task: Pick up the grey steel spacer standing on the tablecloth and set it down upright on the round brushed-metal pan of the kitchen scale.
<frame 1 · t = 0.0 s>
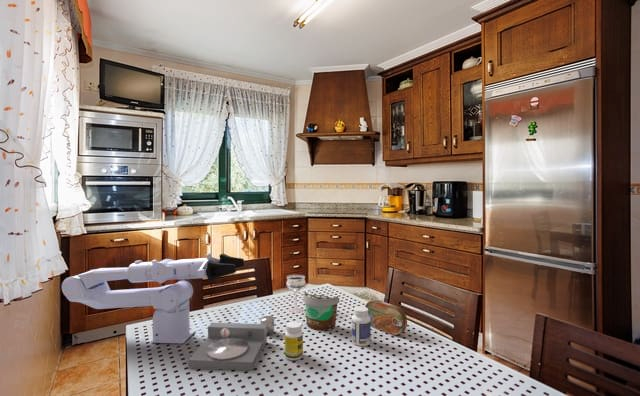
hand: (239, 265, 94), 22 cm above the table, tool horizontal, fingers open, 7 cm apart
food container: (317, 328, 104), on the table
supplement bottle: (293, 356, 86), on the table
scale: (230, 353, 87), on the table
steel spacer: (267, 333, 100), on the table
tin: (385, 330, 102), on the table
wineglass: (295, 310, 118), on the table
pill bottle: (360, 342, 94), on the table
pan: (227, 348, 85), point 2 cm above the table, slide at -0.4 cm, touching scale
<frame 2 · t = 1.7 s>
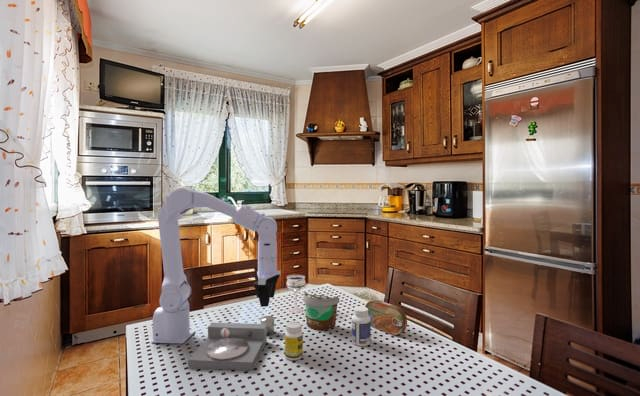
hand: (267, 301, 99), 10 cm above the table, tool pointing down, fingers open, 7 cm apart
nothing on the table moved.
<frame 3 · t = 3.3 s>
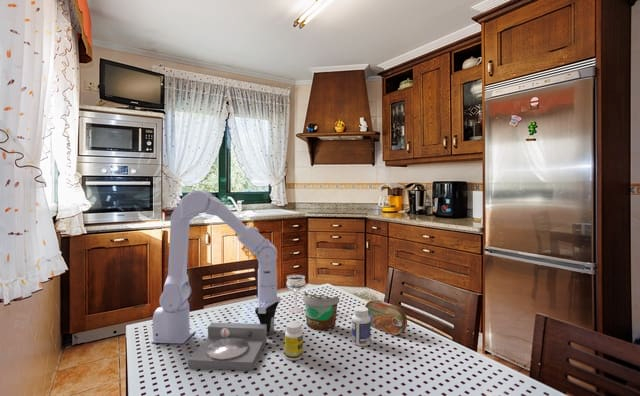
hand: (267, 328, 100), 1 cm above the table, tool pointing down, fingers closed on steel spacer, 4 cm apart
steel spacer: (267, 332, 100), on the table, touching gripper
everything else where it was.
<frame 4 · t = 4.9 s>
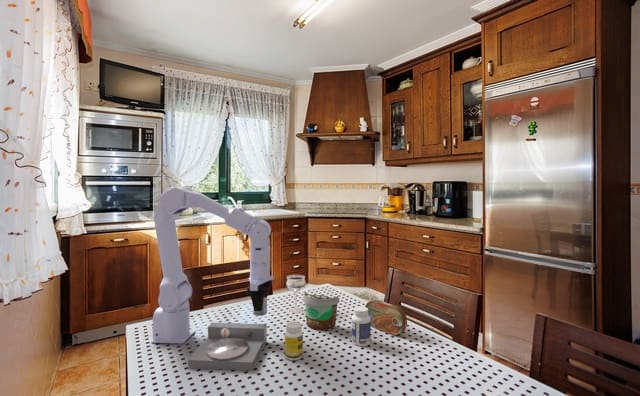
hand: (259, 307, 96), 9 cm above the table, tool pointing down, fingers closed on steel spacer, 4 cm apart
steel spacer: (260, 313, 96), point 7 cm above the table, touching gripper
everything else where it was.
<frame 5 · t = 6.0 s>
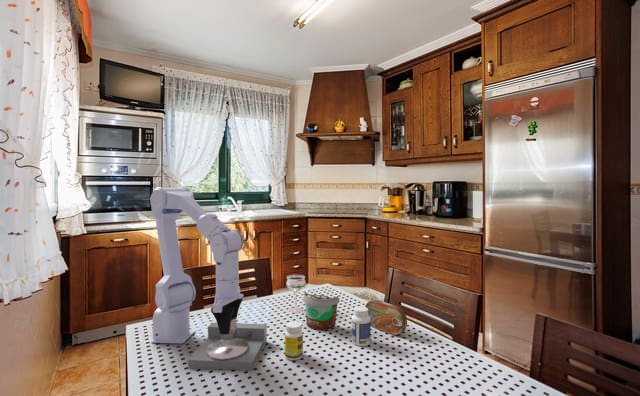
hand: (227, 329, 85), 7 cm above the table, tool pointing down, fingers closed on steel spacer, 4 cm apart
steel spacer: (228, 336, 85), point 5 cm above the table, touching gripper
everything else where it was.
when the fingers open (6 cm above the table, at t = 6.7 s): steel spacer stays where it is, resting on pan.
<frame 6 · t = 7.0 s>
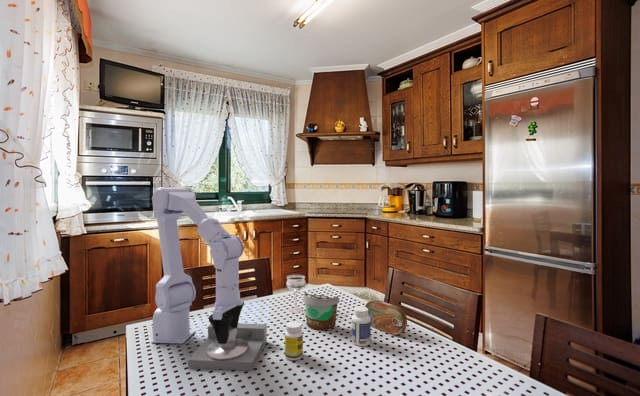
hand: (227, 336, 85), 6 cm above the table, tool pointing down, fingers open, 7 cm apart
steel spacer: (228, 346, 85), point 3 cm above the table, touching pan
pan: (227, 348, 85), point 2 cm above the table, slide at -0.4 cm, touching scale, steel spacer
everything else where it was.
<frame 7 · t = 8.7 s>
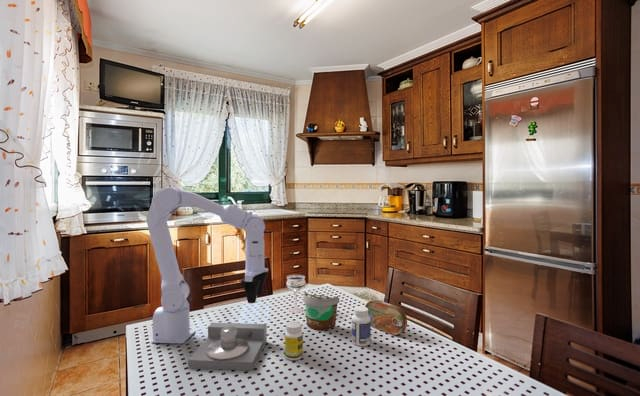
hand: (255, 298, 101), 10 cm above the table, tool pointing down, fingers open, 7 cm apart
nothing on the table moved.
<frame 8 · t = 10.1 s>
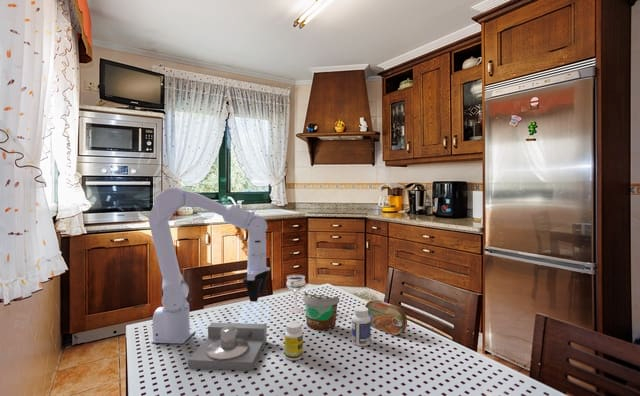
hand: (257, 296, 103), 10 cm above the table, tool pointing down, fingers open, 7 cm apart
nothing on the table moved.
at the end: steel spacer inside the target area on the pan (0.3 cm from its centre), point 3.2 cm above the pan's base; steel spacer tilted 0°; the gripper is holding nothing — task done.
